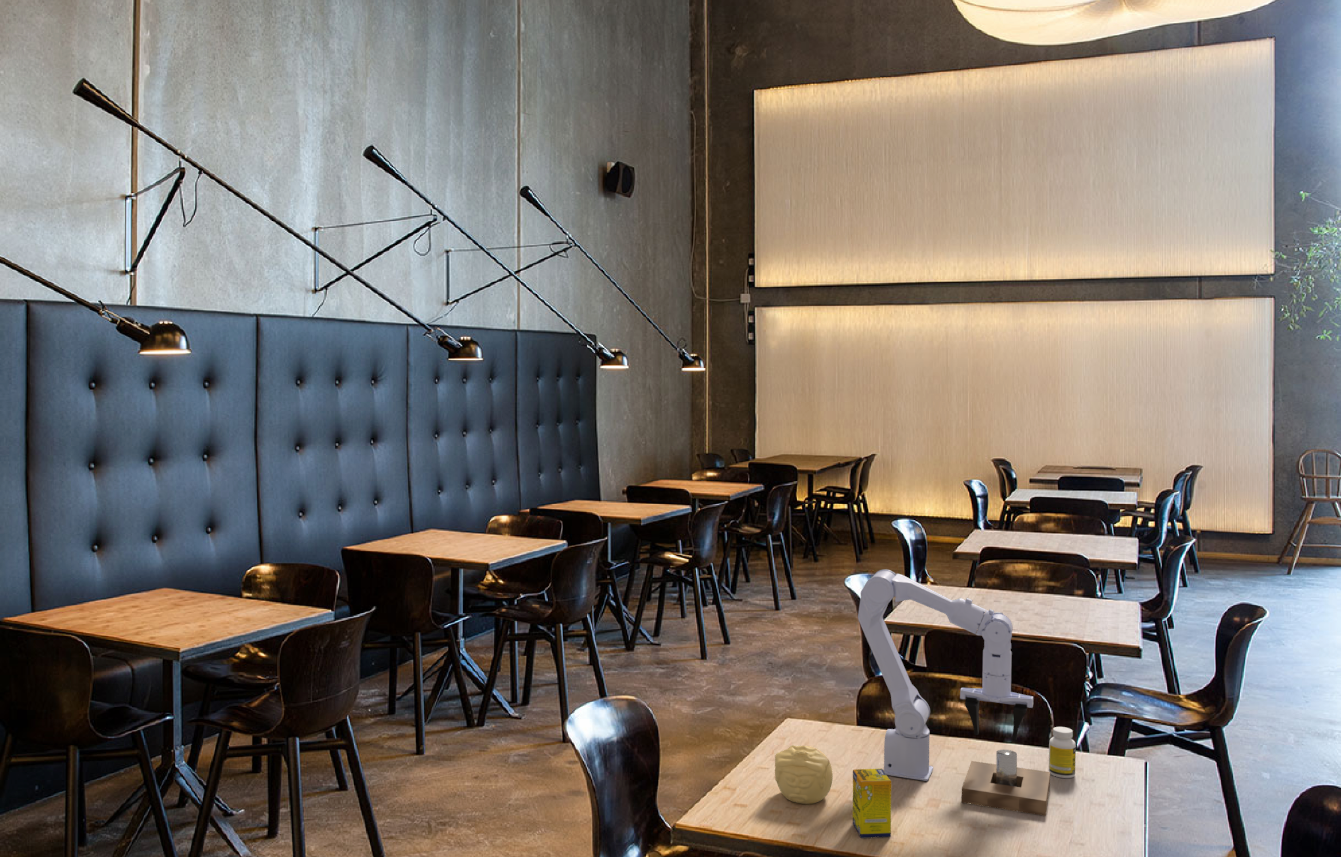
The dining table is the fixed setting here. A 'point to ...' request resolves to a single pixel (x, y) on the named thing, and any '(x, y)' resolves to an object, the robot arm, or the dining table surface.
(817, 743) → the dining table surface
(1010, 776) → the steel pin
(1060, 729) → the supplement bottle
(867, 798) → the supplement box
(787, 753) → the sculpture
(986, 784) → the socket block
